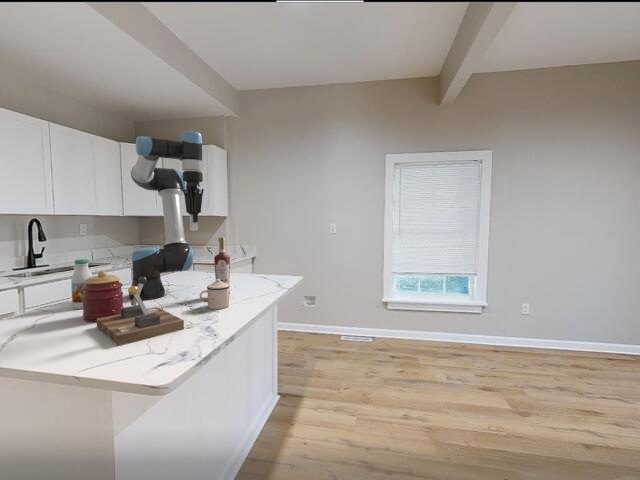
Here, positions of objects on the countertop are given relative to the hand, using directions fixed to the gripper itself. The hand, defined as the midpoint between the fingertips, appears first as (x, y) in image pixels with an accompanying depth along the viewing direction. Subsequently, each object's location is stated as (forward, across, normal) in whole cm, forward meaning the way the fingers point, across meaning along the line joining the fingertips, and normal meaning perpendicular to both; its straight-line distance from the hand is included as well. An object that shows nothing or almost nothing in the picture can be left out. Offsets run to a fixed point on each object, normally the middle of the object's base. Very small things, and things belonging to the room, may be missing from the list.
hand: (194, 230), depth 134 cm
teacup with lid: (+33, -3, -7) cm, 33 cm away
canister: (+33, +15, +29) cm, 46 cm away
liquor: (+33, +11, -19) cm, 39 cm away
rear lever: (+26, -1, +24) cm, 36 cm away
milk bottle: (+33, +36, +31) cm, 58 cm away
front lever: (+26, -15, +24) cm, 39 cm away
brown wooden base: (+32, -8, +24) cm, 41 cm away
